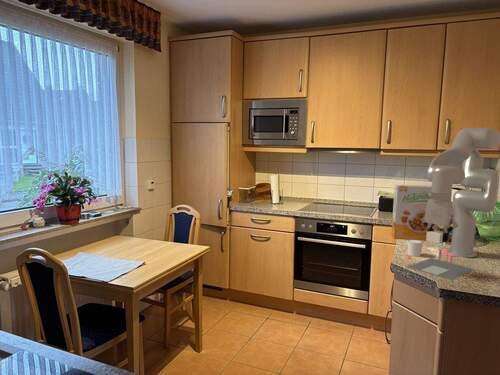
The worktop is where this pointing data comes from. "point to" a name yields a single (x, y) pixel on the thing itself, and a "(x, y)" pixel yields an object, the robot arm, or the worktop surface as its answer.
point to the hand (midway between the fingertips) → (437, 239)
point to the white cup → (414, 247)
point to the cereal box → (410, 212)
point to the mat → (441, 268)
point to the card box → (435, 236)
